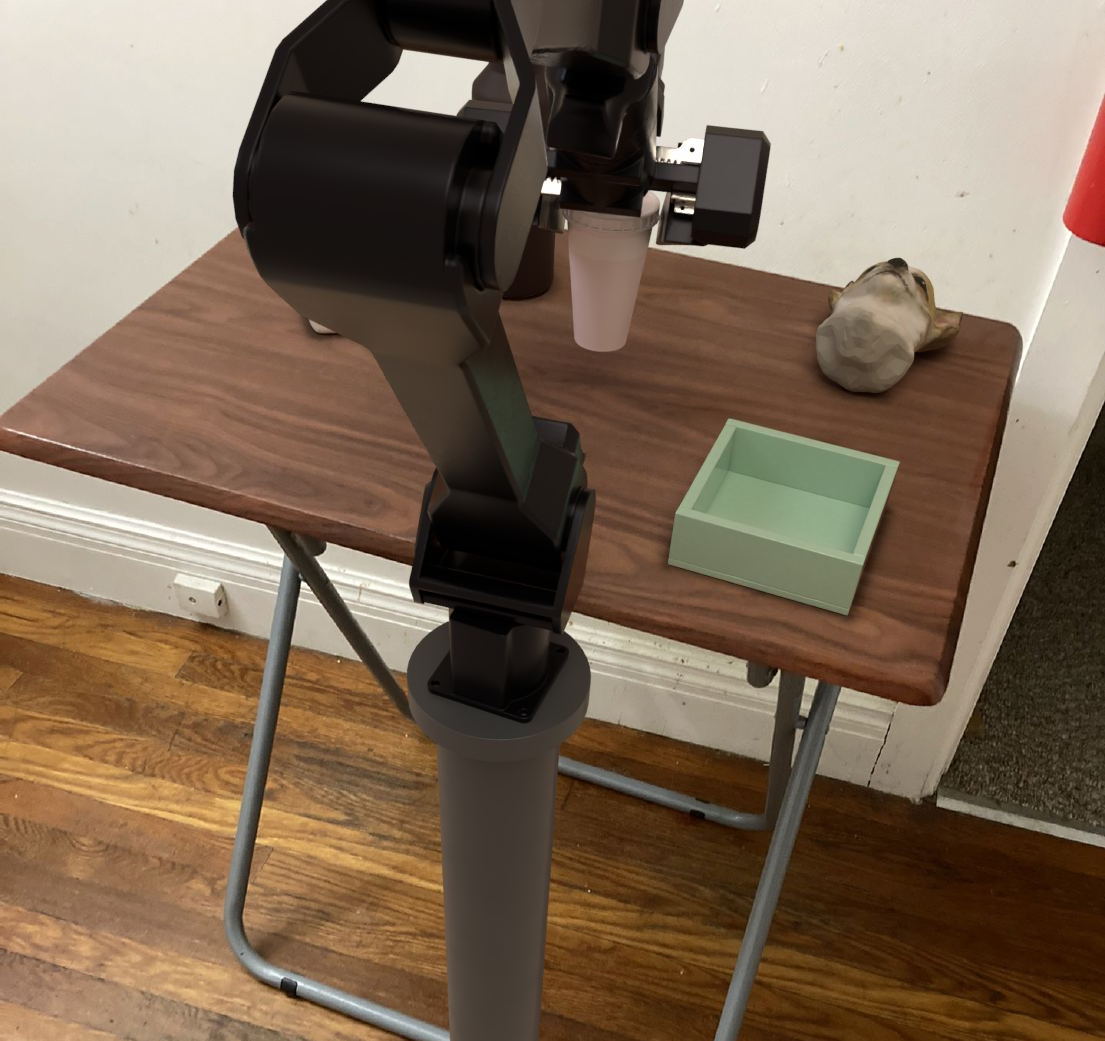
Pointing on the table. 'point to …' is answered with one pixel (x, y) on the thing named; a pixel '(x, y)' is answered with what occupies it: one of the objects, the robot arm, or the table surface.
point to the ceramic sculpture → (881, 327)
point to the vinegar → (540, 243)
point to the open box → (783, 515)
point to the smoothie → (607, 272)
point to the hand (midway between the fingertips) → (611, 231)
